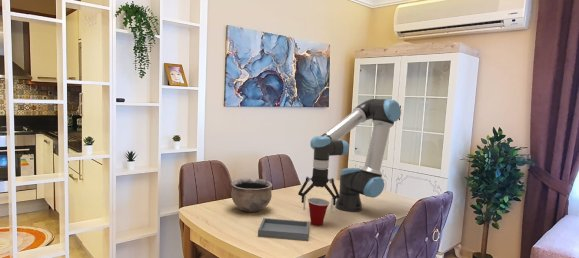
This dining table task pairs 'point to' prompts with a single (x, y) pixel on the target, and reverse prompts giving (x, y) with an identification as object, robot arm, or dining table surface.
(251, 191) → the ceramic bowl
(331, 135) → the robot arm
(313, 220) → the plastic cup
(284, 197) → the dining table surface
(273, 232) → the cup tray
